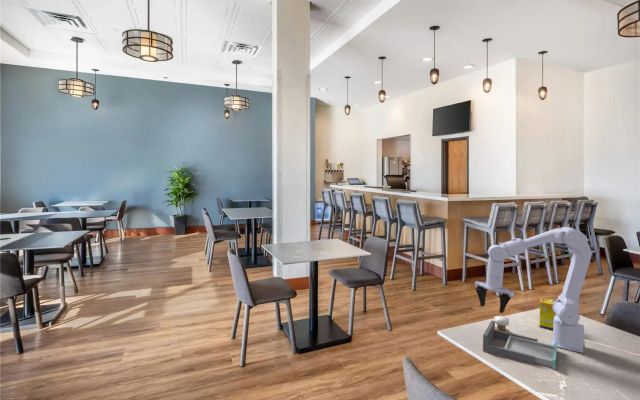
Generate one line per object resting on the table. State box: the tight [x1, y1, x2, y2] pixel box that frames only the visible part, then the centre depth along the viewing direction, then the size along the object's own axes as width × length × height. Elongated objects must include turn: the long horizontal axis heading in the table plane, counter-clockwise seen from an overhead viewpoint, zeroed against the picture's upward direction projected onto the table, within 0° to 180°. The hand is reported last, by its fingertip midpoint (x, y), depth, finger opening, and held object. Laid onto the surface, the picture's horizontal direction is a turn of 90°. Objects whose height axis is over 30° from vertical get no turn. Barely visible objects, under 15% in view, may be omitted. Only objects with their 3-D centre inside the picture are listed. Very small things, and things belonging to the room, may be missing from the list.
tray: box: [504, 336, 558, 371], centre depth 121 cm, size 15×16×3 cm
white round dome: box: [493, 315, 510, 327], centre depth 139 cm, size 5×5×2 cm
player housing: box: [482, 320, 539, 365], centre depth 125 cm, size 16×16×6 cm
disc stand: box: [495, 324, 511, 333], centre depth 139 cm, size 6×6×4 cm
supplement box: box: [538, 298, 557, 331], centre depth 144 cm, size 6×6×11 cm
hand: (491, 309), depth 136 cm, fingers open, 7 cm apart
